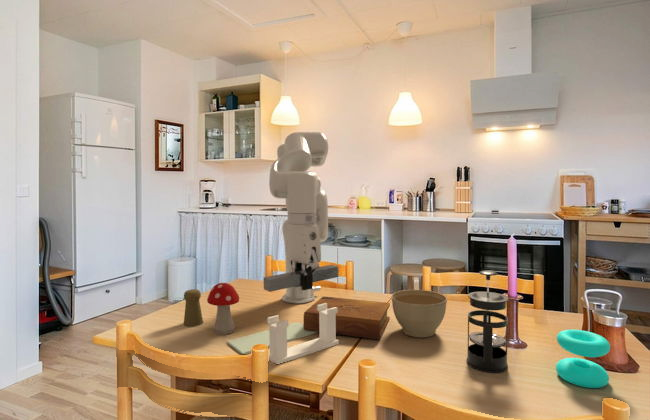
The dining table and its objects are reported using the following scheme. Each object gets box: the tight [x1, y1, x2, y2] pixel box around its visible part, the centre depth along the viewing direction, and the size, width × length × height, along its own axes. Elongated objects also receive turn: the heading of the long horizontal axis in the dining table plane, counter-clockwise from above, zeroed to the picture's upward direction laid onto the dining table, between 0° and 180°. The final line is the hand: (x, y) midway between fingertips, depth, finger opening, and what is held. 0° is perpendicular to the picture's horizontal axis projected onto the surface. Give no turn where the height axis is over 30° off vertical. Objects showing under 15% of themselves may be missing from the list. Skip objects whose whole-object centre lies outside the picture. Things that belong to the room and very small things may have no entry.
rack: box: [266, 303, 340, 365], centre depth 104 cm, size 20×5×10 cm, turn 128°
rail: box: [263, 264, 339, 293], centre depth 104 cm, size 22×3×3 cm, turn 128°
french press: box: [466, 270, 509, 374], centre depth 94 cm, size 12×9×23 cm
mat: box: [226, 321, 318, 355], centre depth 113 cm, size 24×10×1 cm, turn 128°
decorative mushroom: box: [206, 282, 240, 335], centre depth 118 cm, size 10×9×15 cm
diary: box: [303, 296, 391, 340], centre depth 122 cm, size 23×19×6 cm
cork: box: [183, 288, 204, 328], centre depth 126 cm, size 6×6×11 cm
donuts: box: [555, 328, 611, 389], centre depth 87 cm, size 10×10×10 cm
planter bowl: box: [390, 289, 448, 338], centre depth 116 cm, size 16×16×11 cm
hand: (303, 287), depth 104 cm, fingers closed on rail, 3 cm apart
